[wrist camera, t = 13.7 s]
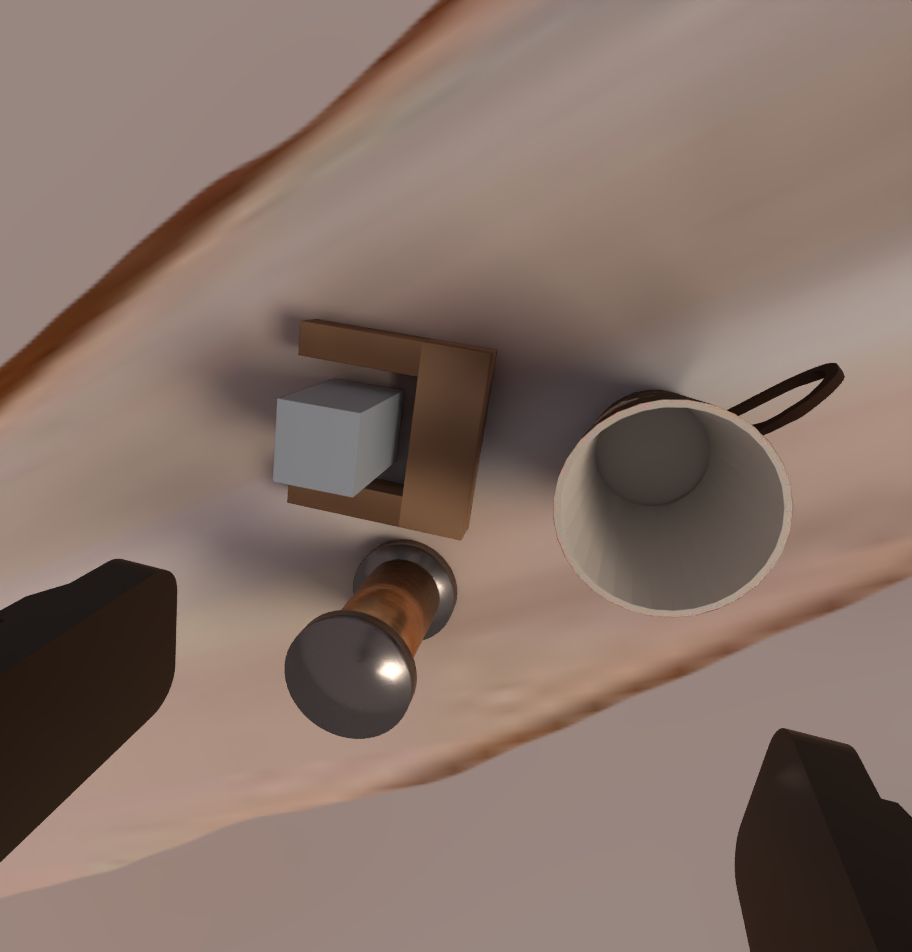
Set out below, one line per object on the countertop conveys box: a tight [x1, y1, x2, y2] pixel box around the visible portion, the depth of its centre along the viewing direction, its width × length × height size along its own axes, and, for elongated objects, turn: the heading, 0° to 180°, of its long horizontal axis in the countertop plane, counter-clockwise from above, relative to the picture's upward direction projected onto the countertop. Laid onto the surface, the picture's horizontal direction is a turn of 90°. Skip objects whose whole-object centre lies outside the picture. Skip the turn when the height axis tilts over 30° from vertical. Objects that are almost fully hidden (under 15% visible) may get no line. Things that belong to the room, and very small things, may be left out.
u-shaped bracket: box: [287, 319, 497, 540], centre depth 37 cm, size 10×10×2 cm
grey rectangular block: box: [273, 379, 404, 497], centre depth 34 cm, size 4×4×7 cm
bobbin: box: [285, 540, 457, 739], centre depth 35 cm, size 6×6×10 cm
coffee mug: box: [553, 363, 845, 618], centre depth 30 cm, size 12×9×10 cm
